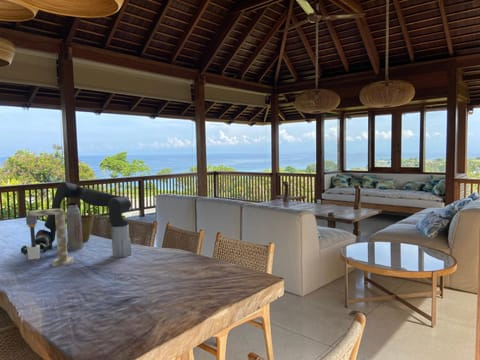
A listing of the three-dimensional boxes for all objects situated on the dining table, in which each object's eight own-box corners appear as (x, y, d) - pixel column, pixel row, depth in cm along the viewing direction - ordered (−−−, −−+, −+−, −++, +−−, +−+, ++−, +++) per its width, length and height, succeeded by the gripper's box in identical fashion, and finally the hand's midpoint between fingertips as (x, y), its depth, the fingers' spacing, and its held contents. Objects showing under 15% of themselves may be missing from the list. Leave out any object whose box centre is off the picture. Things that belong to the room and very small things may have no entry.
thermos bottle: (85, 247, 204) (82, 202, 201) (72, 251, 198) (69, 204, 195) (78, 245, 209) (75, 201, 206) (65, 248, 202) (62, 203, 200)
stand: (73, 258, 184) (69, 207, 181) (71, 263, 176) (68, 209, 173) (34, 263, 177) (30, 209, 174) (31, 269, 169) (26, 212, 166)
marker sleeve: (40, 255, 176) (39, 244, 175) (38, 258, 172) (37, 247, 171) (30, 256, 174) (29, 245, 174) (28, 259, 170) (27, 248, 169)
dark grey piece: (40, 259, 176) (36, 214, 173) (38, 262, 172) (34, 216, 170) (31, 260, 174) (27, 215, 172) (29, 263, 171) (25, 217, 168)
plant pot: (85, 244, 211) (83, 219, 210) (64, 243, 214) (63, 219, 213) (99, 238, 226) (98, 215, 224) (80, 237, 229) (78, 214, 227)
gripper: (25, 238, 185) (17, 246, 170) (54, 235, 191) (49, 242, 176) (26, 251, 186) (19, 260, 171) (55, 248, 191) (50, 256, 176)
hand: (34, 251), depth 173 cm, fingers open, 8 cm apart
